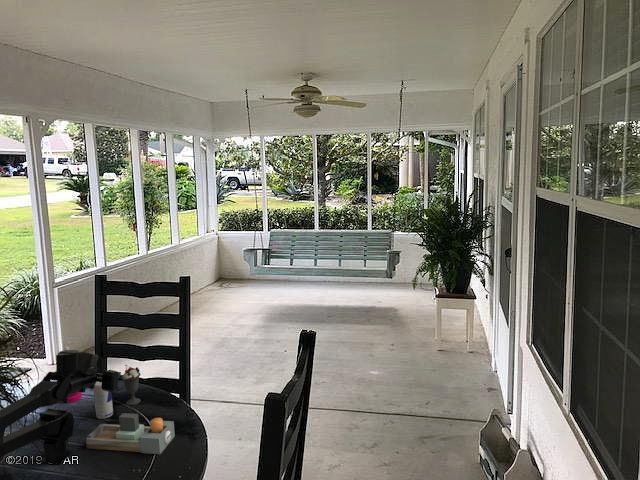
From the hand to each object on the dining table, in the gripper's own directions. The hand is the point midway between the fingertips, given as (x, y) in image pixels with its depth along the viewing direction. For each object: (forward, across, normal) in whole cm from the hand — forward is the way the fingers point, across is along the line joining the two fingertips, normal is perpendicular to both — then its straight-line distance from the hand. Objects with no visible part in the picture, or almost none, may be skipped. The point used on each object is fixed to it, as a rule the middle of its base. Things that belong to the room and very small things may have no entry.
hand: (108, 371), depth 176 cm
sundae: (+13, -2, +14) cm, 19 cm away
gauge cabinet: (-9, -27, +16) cm, 32 cm away
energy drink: (+2, +2, +16) cm, 17 cm away
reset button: (-10, -26, +12) cm, 31 cm away
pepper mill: (+10, +22, +16) cm, 29 cm away
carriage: (-10, -18, +15) cm, 26 cm away
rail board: (-10, -15, +17) cm, 25 cm away
